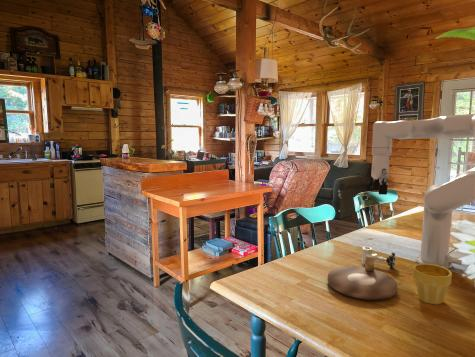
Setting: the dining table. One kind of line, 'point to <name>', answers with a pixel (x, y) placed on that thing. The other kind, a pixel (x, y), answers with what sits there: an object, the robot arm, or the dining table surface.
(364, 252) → the valve
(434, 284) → the plant pot
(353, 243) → the dining table surface
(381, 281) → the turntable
